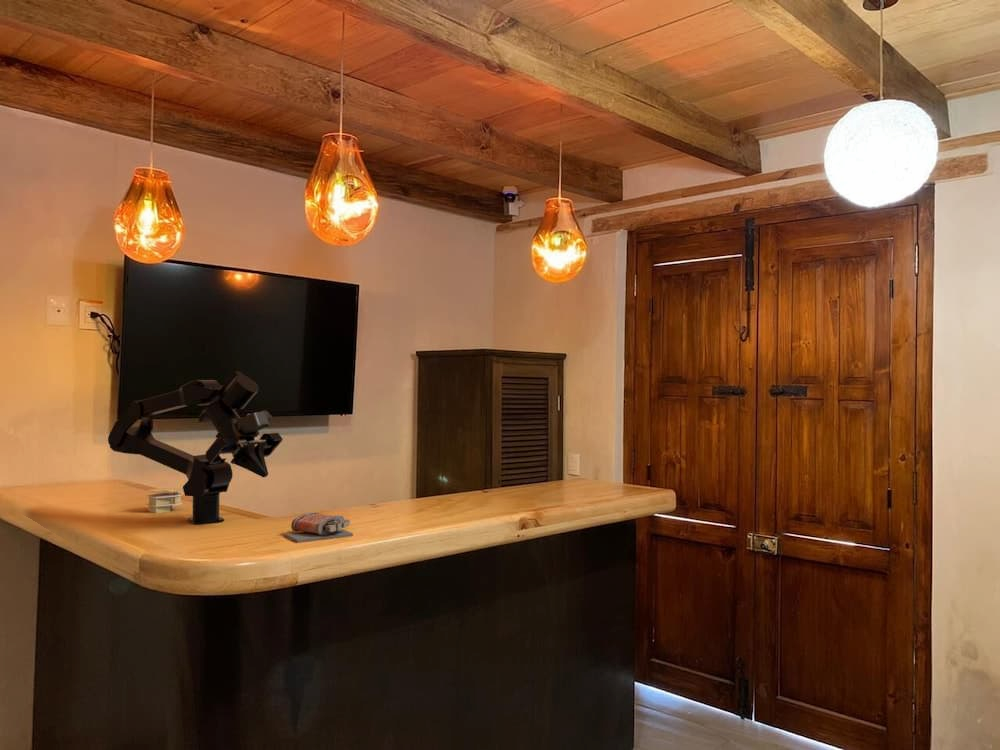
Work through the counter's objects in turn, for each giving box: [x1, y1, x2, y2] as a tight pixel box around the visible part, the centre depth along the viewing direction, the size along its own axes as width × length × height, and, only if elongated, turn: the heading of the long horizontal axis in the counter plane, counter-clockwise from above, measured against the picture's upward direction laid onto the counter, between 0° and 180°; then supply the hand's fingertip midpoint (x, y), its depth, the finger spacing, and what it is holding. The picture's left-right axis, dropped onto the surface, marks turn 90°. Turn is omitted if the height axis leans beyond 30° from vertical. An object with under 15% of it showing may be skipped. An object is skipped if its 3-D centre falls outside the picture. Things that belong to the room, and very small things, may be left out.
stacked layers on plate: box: [146, 487, 183, 514], centre depth 183 cm, size 10×9×6 cm
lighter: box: [290, 511, 351, 535], centre depth 157 cm, size 8×3×10 cm
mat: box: [284, 528, 354, 543], centre depth 156 cm, size 7×12×1 cm, turn 126°
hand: (266, 475), depth 164 cm, fingers closed
